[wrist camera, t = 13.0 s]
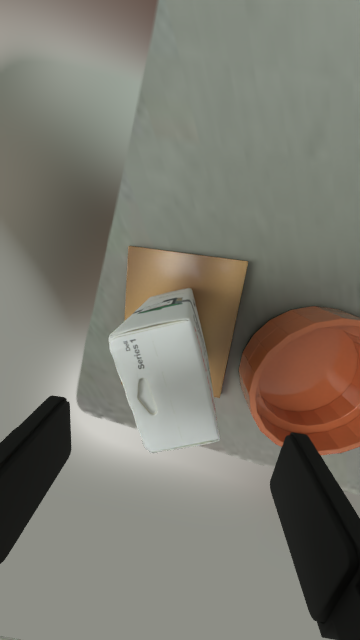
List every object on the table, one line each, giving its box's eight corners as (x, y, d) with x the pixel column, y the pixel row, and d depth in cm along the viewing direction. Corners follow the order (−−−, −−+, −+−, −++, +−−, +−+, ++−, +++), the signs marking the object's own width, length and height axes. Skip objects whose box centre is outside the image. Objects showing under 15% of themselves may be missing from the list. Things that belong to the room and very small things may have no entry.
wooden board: (246, 261, 22) (248, 261, 21) (218, 393, 27) (219, 398, 26) (130, 246, 22) (128, 245, 21) (123, 381, 27) (121, 384, 26)
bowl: (392, 315, 23) (445, 331, 18) (344, 427, 27) (376, 463, 22) (254, 297, 23) (270, 308, 18) (228, 411, 27) (236, 444, 23)
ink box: (209, 359, 24) (225, 448, 13) (167, 367, 25) (148, 460, 14) (191, 285, 22) (193, 316, 11) (145, 296, 23) (101, 337, 11)
